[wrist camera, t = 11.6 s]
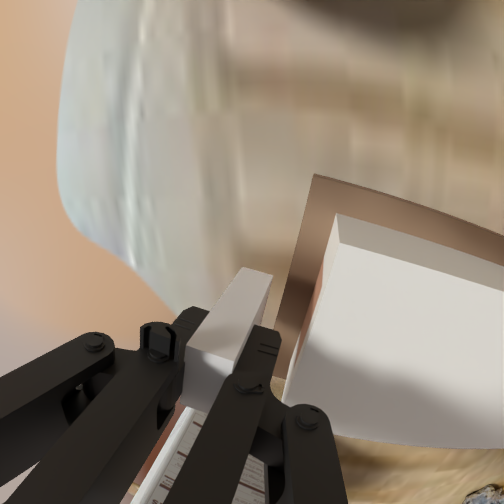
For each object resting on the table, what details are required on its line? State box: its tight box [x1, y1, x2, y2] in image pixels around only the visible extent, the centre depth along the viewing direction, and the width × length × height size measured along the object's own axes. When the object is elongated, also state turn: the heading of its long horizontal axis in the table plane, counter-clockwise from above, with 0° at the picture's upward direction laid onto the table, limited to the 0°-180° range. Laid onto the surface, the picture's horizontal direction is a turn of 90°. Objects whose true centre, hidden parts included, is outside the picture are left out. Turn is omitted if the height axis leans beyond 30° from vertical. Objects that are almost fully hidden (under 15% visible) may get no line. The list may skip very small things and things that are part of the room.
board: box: [272, 174, 504, 379], centre depth 14 cm, size 12×24×4 cm, turn 79°
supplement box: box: [130, 407, 265, 504], centre depth 17 cm, size 7×7×13 cm
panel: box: [281, 213, 504, 449], centre depth 13 cm, size 9×16×5 cm, turn 78°
